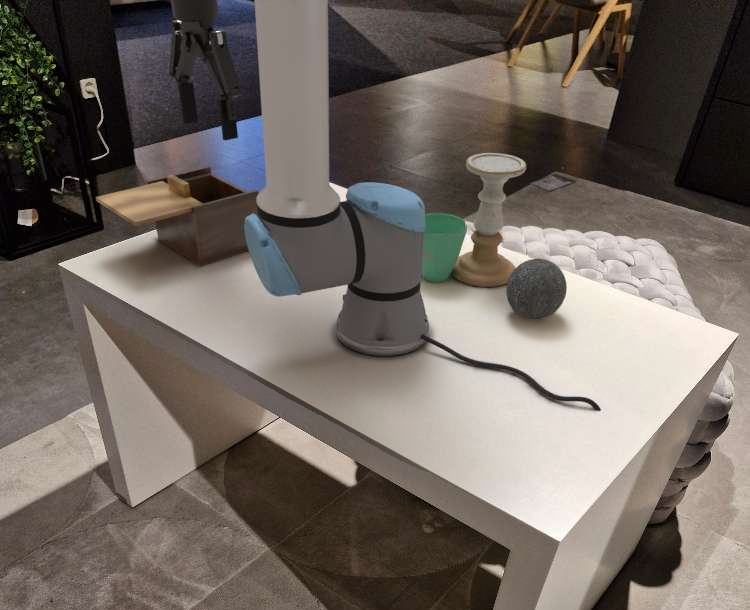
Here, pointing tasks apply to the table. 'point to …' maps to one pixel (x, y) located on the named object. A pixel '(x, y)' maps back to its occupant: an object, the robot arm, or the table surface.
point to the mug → (441, 245)
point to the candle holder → (488, 222)
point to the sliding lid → (151, 201)
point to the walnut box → (209, 218)
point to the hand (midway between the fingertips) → (210, 130)
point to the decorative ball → (536, 289)
